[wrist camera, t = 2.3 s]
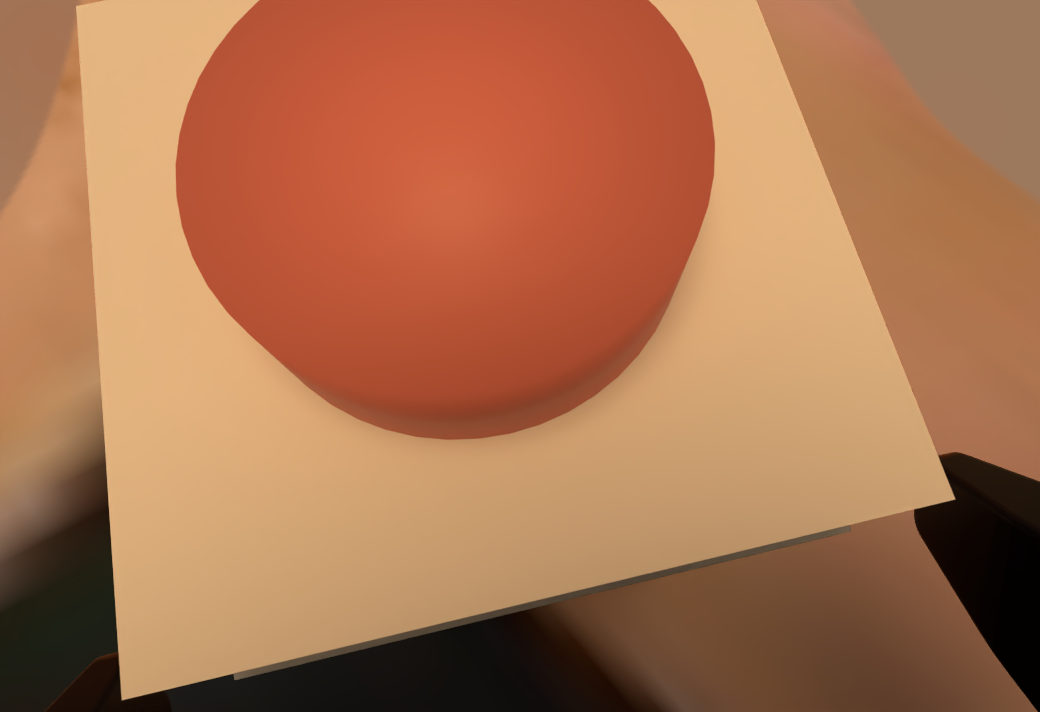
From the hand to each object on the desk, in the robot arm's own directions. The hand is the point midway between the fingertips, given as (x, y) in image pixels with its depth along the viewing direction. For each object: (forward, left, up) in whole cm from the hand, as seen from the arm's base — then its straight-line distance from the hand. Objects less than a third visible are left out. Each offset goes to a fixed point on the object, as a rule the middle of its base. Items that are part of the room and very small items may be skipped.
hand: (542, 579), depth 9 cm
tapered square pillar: (+2, -1, -10) cm, 10 cm away
